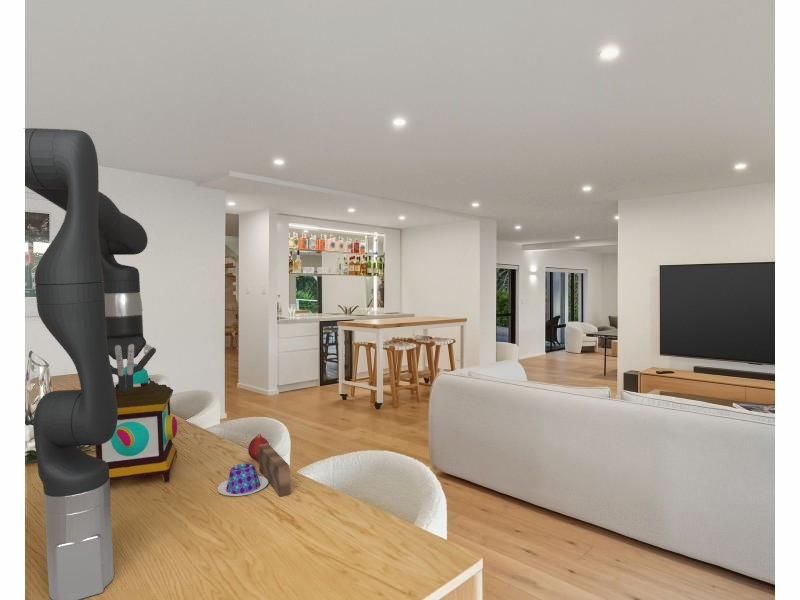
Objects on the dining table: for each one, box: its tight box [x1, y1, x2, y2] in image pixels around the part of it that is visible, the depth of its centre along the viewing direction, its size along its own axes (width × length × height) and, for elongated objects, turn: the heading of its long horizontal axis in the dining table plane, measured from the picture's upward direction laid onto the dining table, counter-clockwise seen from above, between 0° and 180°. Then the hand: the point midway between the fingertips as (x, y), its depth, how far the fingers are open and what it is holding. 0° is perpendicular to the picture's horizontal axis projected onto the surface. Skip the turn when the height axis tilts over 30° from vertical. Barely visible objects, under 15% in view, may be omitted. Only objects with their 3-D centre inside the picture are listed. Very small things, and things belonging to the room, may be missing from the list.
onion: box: [247, 433, 270, 462], centre depth 137 cm, size 6×6×8 cm
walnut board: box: [258, 442, 291, 498], centre depth 123 cm, size 19×2×7 cm, turn 30°
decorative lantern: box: [93, 363, 178, 484], centre depth 128 cm, size 20×20×30 cm
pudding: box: [217, 463, 269, 497], centre depth 120 cm, size 12×12×5 cm
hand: (126, 391), depth 108 cm, fingers closed
